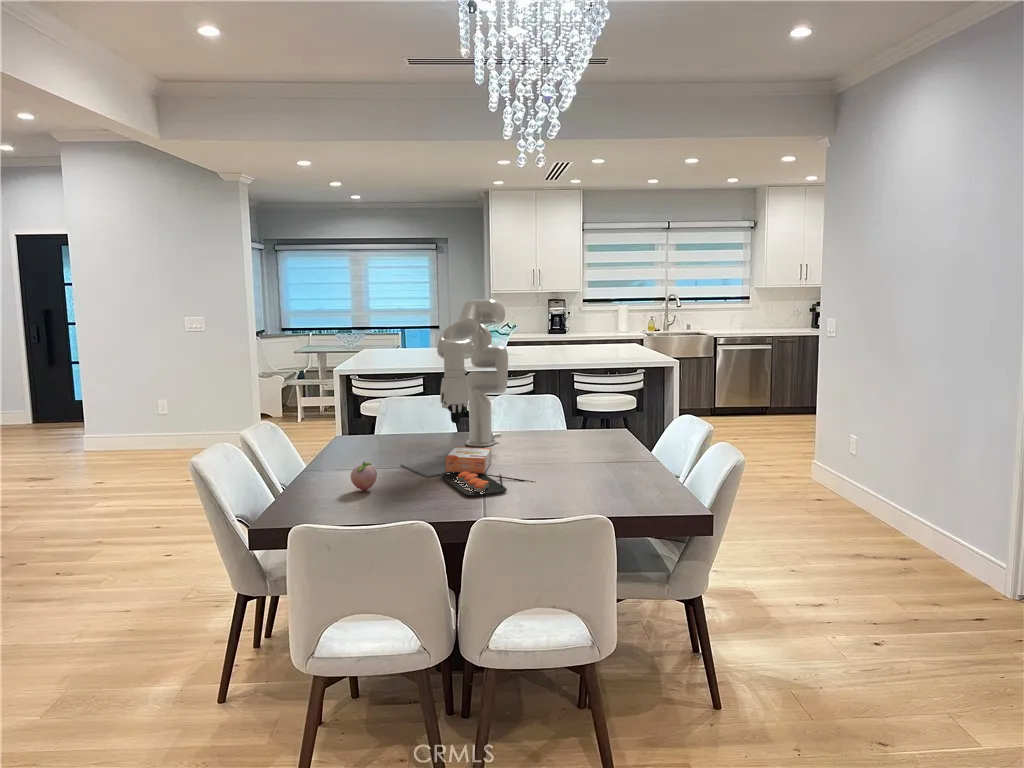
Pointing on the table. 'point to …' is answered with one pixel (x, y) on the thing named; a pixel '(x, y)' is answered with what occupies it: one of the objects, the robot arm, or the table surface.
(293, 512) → the table surface
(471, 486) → the sushi plate
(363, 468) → the decorative fruit
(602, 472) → the table surface
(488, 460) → the cracker box
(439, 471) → the mat
